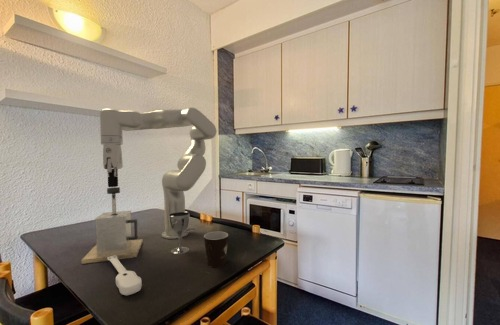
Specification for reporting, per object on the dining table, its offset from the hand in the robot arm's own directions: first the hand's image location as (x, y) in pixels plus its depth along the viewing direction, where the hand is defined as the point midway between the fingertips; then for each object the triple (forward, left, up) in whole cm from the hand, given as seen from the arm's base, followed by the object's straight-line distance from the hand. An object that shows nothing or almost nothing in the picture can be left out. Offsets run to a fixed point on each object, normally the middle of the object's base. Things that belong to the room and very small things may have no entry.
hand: (113, 186), depth 94 cm
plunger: (0, 0, -17) cm, 17 cm away
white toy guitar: (-7, +23, -27) cm, 36 cm away
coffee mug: (-36, +24, -27) cm, 51 cm away
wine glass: (-25, +7, -27) cm, 37 cm away
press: (0, 0, -27) cm, 27 cm away
